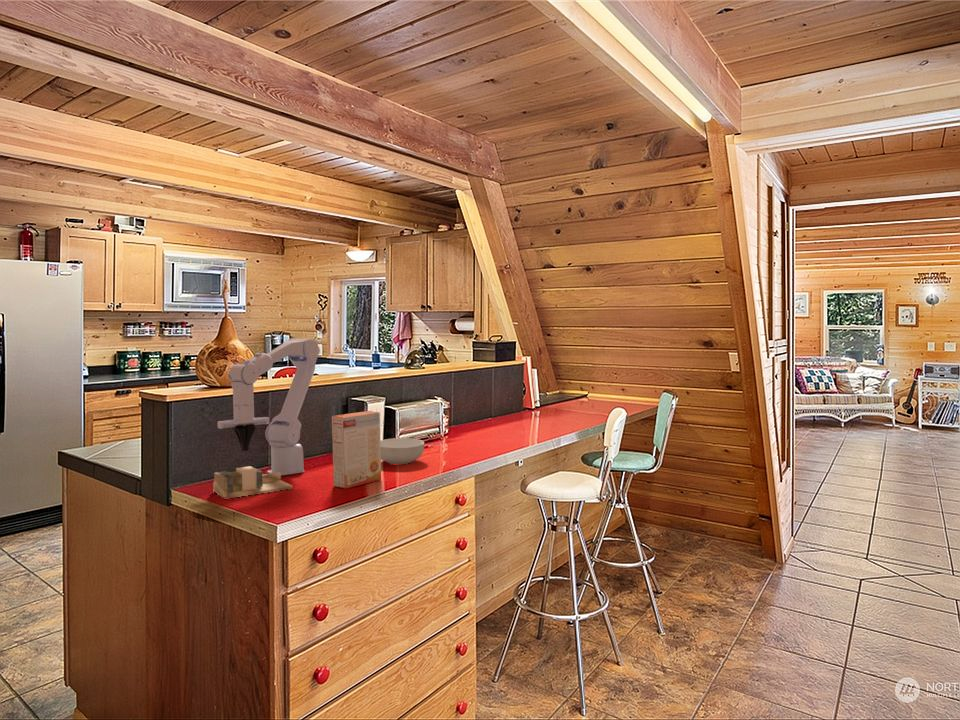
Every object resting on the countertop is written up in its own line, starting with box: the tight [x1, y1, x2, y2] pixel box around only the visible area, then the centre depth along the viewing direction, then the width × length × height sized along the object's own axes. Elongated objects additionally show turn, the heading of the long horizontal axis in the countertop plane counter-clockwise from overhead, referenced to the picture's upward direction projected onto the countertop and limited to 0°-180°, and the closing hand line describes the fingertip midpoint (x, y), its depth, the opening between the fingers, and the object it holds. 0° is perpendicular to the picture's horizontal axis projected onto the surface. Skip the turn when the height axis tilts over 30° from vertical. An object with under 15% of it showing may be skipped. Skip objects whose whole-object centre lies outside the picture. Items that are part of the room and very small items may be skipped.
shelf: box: [212, 470, 294, 500], centre depth 181 cm, size 19×10×6 cm, turn 129°
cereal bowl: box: [380, 437, 425, 465], centre depth 218 cm, size 17×17×7 cm
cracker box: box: [331, 410, 382, 490], centre depth 189 cm, size 14×6×21 cm, turn 141°
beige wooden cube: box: [235, 465, 257, 491], centre depth 181 cm, size 4×5×6 cm
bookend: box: [254, 467, 263, 488], centre depth 183 cm, size 2×5×4 cm, turn 39°
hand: (244, 450), depth 189 cm, fingers closed
